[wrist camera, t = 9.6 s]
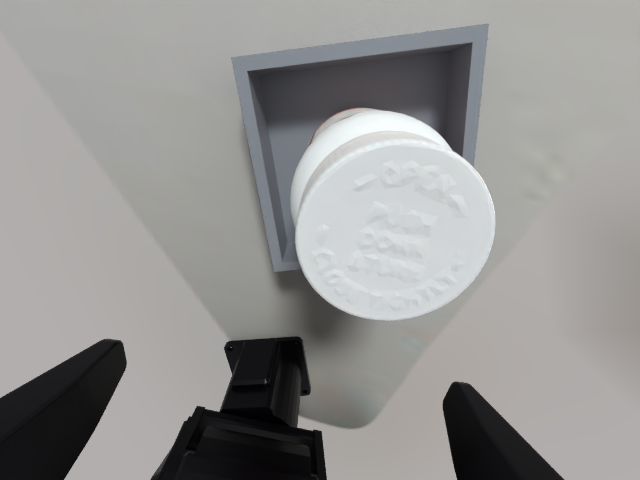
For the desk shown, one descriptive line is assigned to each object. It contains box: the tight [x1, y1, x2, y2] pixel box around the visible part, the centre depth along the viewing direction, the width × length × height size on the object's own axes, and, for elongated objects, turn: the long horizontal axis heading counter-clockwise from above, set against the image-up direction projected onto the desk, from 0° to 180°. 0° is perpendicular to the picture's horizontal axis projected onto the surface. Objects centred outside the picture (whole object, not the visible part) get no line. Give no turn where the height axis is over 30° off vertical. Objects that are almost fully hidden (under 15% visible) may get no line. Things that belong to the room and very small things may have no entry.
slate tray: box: [231, 24, 489, 272], centre depth 17 cm, size 11×11×4 cm
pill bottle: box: [290, 108, 495, 321], centre depth 13 cm, size 6×6×11 cm
